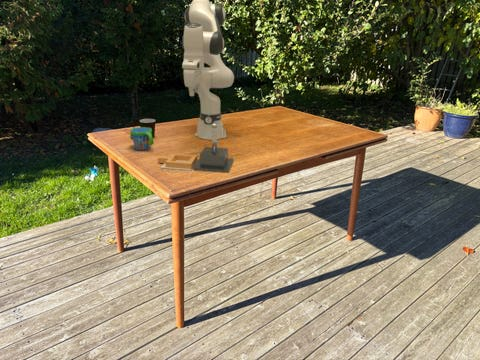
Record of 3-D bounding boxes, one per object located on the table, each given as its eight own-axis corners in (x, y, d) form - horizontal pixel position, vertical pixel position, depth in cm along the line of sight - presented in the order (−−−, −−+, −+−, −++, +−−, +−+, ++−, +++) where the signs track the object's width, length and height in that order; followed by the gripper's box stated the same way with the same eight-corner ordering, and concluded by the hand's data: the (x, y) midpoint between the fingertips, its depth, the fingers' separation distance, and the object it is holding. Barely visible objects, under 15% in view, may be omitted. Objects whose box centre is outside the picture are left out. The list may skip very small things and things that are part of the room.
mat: (169, 158, 181) (169, 157, 181) (197, 160, 180) (197, 159, 180) (160, 168, 168) (160, 167, 168) (190, 170, 167) (190, 169, 167)
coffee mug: (158, 136, 214) (157, 119, 210) (153, 140, 207) (152, 123, 203) (138, 135, 215) (137, 118, 211) (133, 139, 207) (132, 121, 204)
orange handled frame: (163, 157, 180) (162, 152, 179) (197, 159, 179) (197, 155, 178) (154, 166, 169) (154, 161, 168) (191, 168, 168) (191, 163, 167)
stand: (201, 158, 182) (201, 118, 175) (233, 160, 181) (234, 120, 173) (193, 170, 168) (192, 127, 160) (228, 172, 166) (229, 129, 158)
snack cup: (125, 147, 194) (123, 128, 190) (142, 143, 201) (141, 124, 197) (142, 154, 185) (140, 134, 181) (159, 150, 192) (158, 131, 188)
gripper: (192, 60, 175) (193, 90, 180) (180, 64, 156) (181, 97, 162) (205, 61, 174) (205, 90, 180) (195, 65, 156) (196, 98, 161)
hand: (194, 94), depth 170 cm, fingers open, 8 cm apart
